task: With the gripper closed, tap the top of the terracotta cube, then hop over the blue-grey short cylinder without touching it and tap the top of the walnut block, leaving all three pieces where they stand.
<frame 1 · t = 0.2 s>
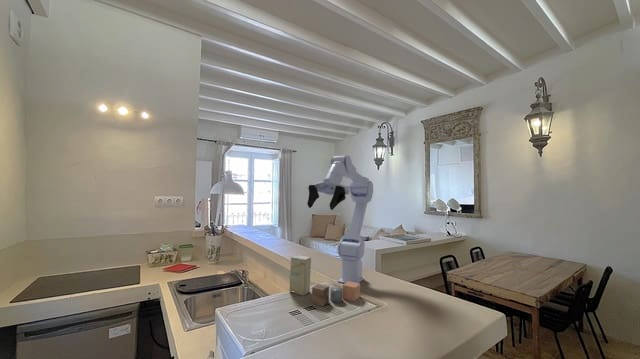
hand: (319, 206, 78), 31 cm above the worktop, tool tilted 45°, fingers open, 7 cm apart
blue-grey short cylinder: (336, 300, 82), on the worktop
skincare box: (299, 292, 88), on the worktop
walnut block: (320, 302, 80), on the worktop
terracotta cube: (351, 297, 84), on the worktop
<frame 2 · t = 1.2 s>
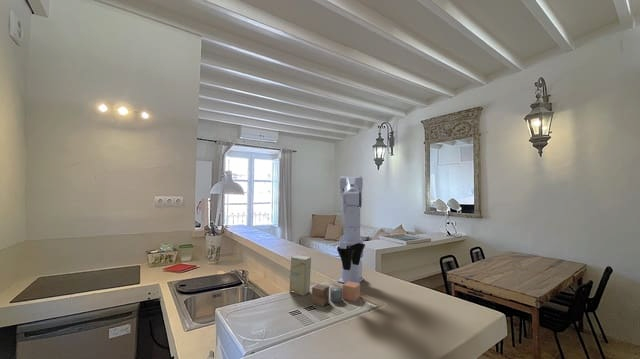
hand: (351, 267, 84), 10 cm above the worktop, tool pointing down, fingers open, 7 cm apart
nothing on the worktop moved.
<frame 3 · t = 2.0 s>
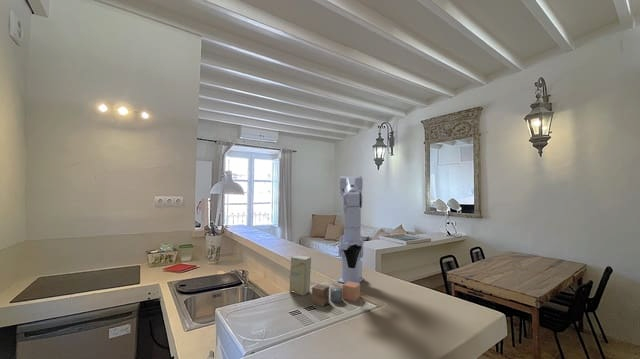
hand: (351, 267, 85), 10 cm above the worktop, tool pointing down, fingers closed
nothing on the worktop moved.
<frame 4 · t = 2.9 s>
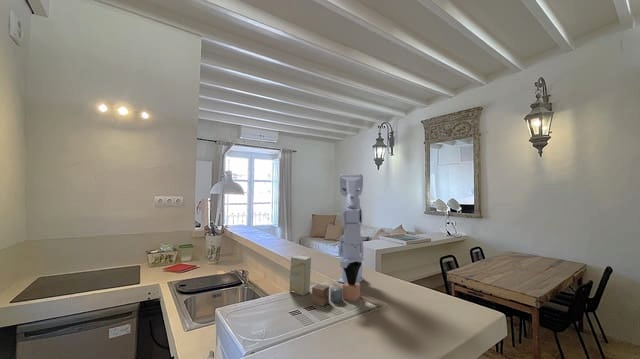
hand: (351, 284, 84), 4 cm above the worktop, tool pointing down, fingers closed, pressing on terracotta cube
terracotta cube: (351, 297, 84), on the worktop, touching gripper
everything else where it was.
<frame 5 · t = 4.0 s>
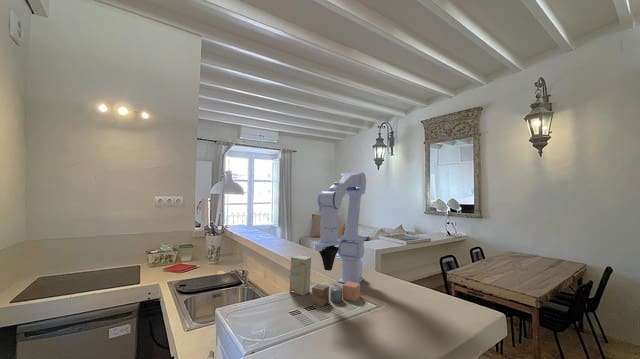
hand: (328, 269, 81), 10 cm above the worktop, tool pointing down, fingers closed
terracotta cube: (351, 297, 84), on the worktop
everything else where it was.
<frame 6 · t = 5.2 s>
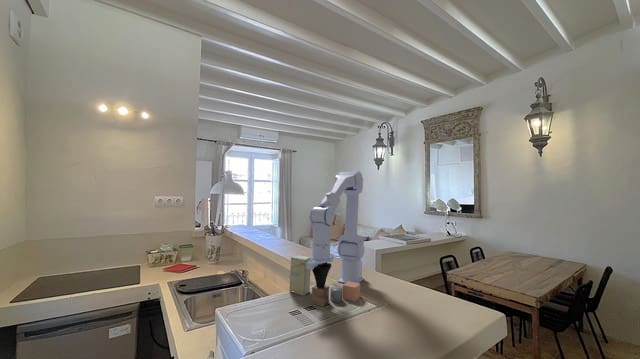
hand: (320, 287, 80), 5 cm above the worktop, tool pointing down, fingers closed, pressing on walnut block
walnut block: (320, 302, 80), on the worktop, touching gripper
everything else where it was.
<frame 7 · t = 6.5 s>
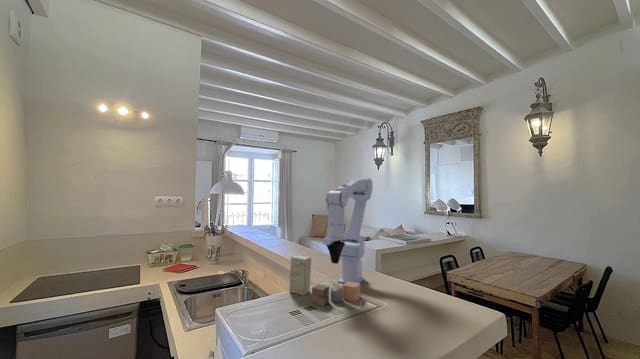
hand: (335, 262, 88), 10 cm above the worktop, tool pointing down, fingers closed
walnut block: (320, 302, 80), on the worktop
everything else where it was.
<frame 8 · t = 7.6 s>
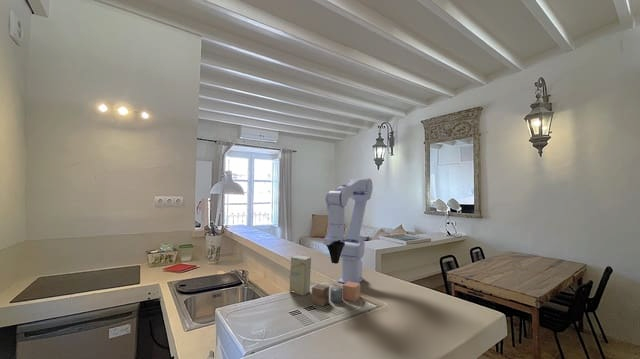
hand: (335, 262, 88), 10 cm above the worktop, tool pointing down, fingers closed
nothing on the worktop moved.
at the end: terracotta cube moved 0.1 cm from its start; walnut block moved 0.1 cm from its start; blue-grey short cylinder moved 0.1 cm from its start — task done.
